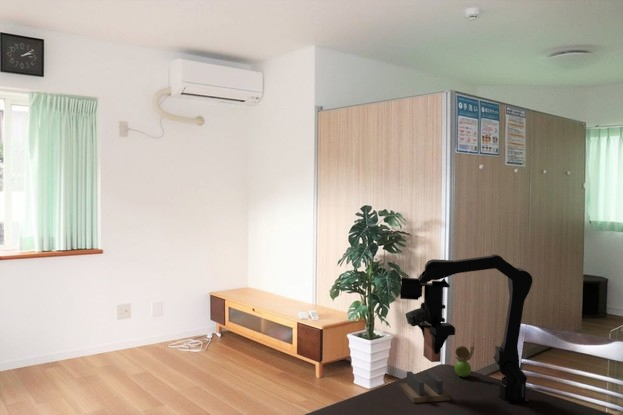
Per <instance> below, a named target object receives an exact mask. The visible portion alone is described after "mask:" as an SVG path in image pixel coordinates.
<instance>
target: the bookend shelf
mask: <svg viewBox="0 0 623 415" xmlns="http://www.w3.org/2000/svg"><path fill="white" fill-rule="evenodd" d="M423 373H424V374H423V378H424V379H423V380H422V379H421V378H420V377H418V375H416V374H415V373H414V372H412V371H406V382H402V383H398V390H400V391H401V392H402V394H404V395H405V396H406V397H407V398H408V399H409V400H410V401H411V402H412V403H413V404H415V403H430V402H442V401H452V395H451V394H450V393H449V392H448V391H447V390H446V389H444V388H443V387H444V386H443V385H444V383H443V382H444V381H443V380H442V379H440V377H438V376H437V375H436V374H435V373H433V372H432V371H430V370H424V372H423Z"/></svg>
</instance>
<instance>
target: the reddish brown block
mask: <svg viewBox="0 0 623 415" xmlns="http://www.w3.org/2000/svg"><path fill="white" fill-rule="evenodd" d="M429 332H432V331H431V327H430V328H424V337H423V357H424V358H425V359H426V360H428V361H429V362H430V363H440V362H441V360H442V349H441V350H440V352H439V354H435V352H434V344H433V337H432V336H431V334H430V333H429Z"/></svg>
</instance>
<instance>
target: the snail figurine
mask: <svg viewBox="0 0 623 415" xmlns="http://www.w3.org/2000/svg"><path fill="white" fill-rule="evenodd" d="M474 351H475V341H472V345H470V346H469V349H468V348H467V347H466V346H465V345H459V346H457V347H456V349H455V352H454V353H455V355H456V356H455V359H457V362H455V364H454V371H455V374H457V376H458V377H461V378H465V377H468V376H469V375H470V374H471V372H472V366H471V364H470V363H469V361H470V360H471V359H472V357H473V355H474Z"/></svg>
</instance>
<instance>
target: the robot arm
mask: <svg viewBox="0 0 623 415" xmlns="http://www.w3.org/2000/svg"><path fill="white" fill-rule="evenodd" d="M494 269H495V270H497V271H499V272H500V273H501V274H503V275H504V276H505V277H507V288H508V296H509V298H508V299H509V300H508V306H507V312H506V313H507V314H506V319H505V320H506V321H505V326H504V334H503V340H502V342H501V345H500V346H498V345H495V346H494V348H495V352H494V353H495V354H494V355H493V358H492V359H493V360H494V362H495V365H496V366H497V368H498V370H499V372H500V373H501V374H502V375H503V377H501V382H500V386H499V388H500V389H499V392H500V393H498V397H500V398H501V399H503V400H504V401H506V402H507V403H508V404H522V403H530V400H529V399H528V398H527V396H526V394H527V380H528V376H527V375H526V374H525V373H524V371H523V370H522V368H521V366H520V356H519V349H518V348H519V347H518V344H519V340H520V332H521V327H522V326H521V325H522V320H523V312H524V305H525V301H526V298H527V297H528V295H529V293H530V292H531V291H530V290H531V288H532V286H533V276H532V275H531V274H530V273H529V272H528V271H527V270H525V269H524V268H520V267H515V266H514V265H512V264H511V263H509V262H508V261H506V260H505V259H504V258H503V256H501V255H499V254H492V255H486V256H478V257H472V258H463V259H462V258H461V259H456V260H455V259H454V260H451V259H449V260H448V259H435V258H434V259H429V260H428V261H427V262H425V264H424V269H423V271H422V272H421V273H420V274H419V276H418V278H417V277H416V278H414V277H407V276H401V277H400V278H401V279H400V280H401V281H400V282H401V283H400V288H399V289H400V290H399V292H400V293H399V295H400V297H399V299H400V300H414V301H416V300H417V301H418V300H419V299H421V298H422V297H423V302H421V303H420V307H418V308H415V309H413V310H410V311H408V312H406V313H405V318H406V322H407V324H408V325H410V326H411V327H416V326H417V327H418V328H419V329H420V330H421V334H422V337H423V338H424V328H430V327H431V331H432V332H429V333H430V334H431V336H432V337H433V344H434V352H435V354H439V352H440V350H441V351H442V348H443V346H444V345H445V342H446V341H447V339H449V337H450V336H455V335H456V328H455V326H454V325H452V324H451V323H449V322H446V318H445V317H443V315H444V314H443V313H444V312H443V311H444V309H446V305H445V304H444V288H446V289H447V288H450V287H451V285H450V283H448V282H447V280H446V279H445V278H449V277H450V276H453V275H457V274H461V273H462V274H463V273H471V272H478V271H486V270H494ZM423 288H424V289H423ZM423 290H424V292H423ZM423 294H424V295H423Z"/></svg>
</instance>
